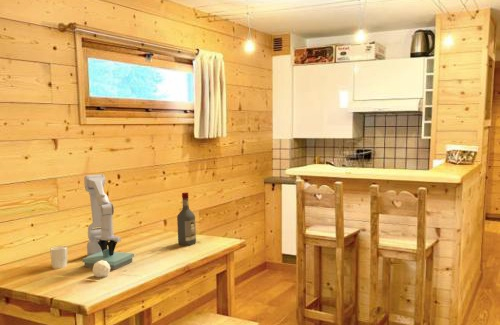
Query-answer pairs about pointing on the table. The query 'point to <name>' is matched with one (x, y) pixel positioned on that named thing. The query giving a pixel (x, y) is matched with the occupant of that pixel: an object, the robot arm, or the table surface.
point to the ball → (101, 268)
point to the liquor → (186, 224)
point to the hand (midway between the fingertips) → (108, 255)
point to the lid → (108, 257)
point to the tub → (111, 265)
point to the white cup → (59, 256)
